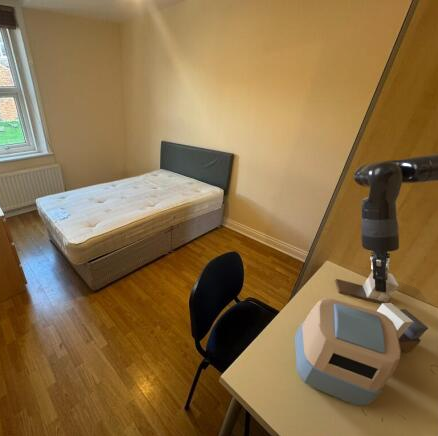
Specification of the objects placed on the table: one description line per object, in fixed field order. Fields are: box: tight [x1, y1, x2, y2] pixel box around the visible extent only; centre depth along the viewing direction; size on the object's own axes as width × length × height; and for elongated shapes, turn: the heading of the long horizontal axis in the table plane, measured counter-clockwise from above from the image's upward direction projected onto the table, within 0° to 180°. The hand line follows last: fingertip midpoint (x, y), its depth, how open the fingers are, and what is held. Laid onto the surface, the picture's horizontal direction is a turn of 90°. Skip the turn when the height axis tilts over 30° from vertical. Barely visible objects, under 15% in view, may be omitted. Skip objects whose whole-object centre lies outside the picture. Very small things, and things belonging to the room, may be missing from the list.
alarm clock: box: [294, 297, 402, 406], centre depth 62 cm, size 17×17×23 cm
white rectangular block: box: [376, 302, 413, 339], centre depth 69 cm, size 3×6×9 cm, turn 4°
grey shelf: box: [399, 308, 429, 354], centre depth 72 cm, size 18×7×12 cm, turn 94°
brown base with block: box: [334, 270, 400, 305], centre depth 90 cm, size 14×7×10 cm, turn 64°
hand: (381, 285), depth 68 cm, fingers open, 8 cm apart
